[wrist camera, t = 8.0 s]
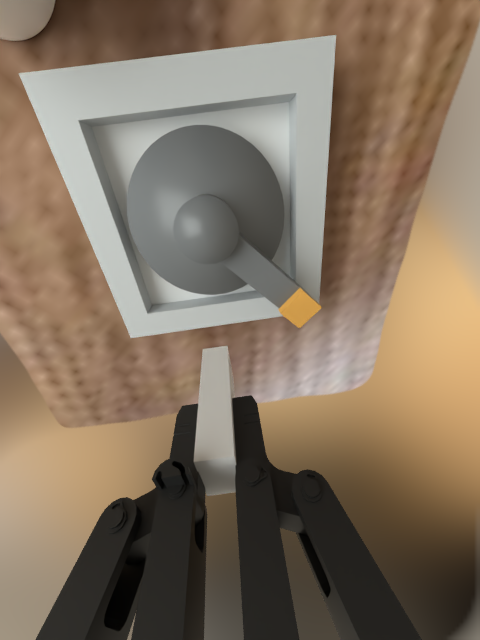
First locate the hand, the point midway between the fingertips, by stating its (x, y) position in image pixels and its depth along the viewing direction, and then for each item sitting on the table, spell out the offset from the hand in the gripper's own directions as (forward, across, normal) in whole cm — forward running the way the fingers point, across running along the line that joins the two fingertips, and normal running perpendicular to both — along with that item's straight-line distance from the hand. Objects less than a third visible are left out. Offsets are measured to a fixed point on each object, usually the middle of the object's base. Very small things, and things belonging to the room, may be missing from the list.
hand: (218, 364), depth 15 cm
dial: (+12, +2, +5) cm, 13 cm away
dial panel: (+14, 0, +7) cm, 15 cm away
